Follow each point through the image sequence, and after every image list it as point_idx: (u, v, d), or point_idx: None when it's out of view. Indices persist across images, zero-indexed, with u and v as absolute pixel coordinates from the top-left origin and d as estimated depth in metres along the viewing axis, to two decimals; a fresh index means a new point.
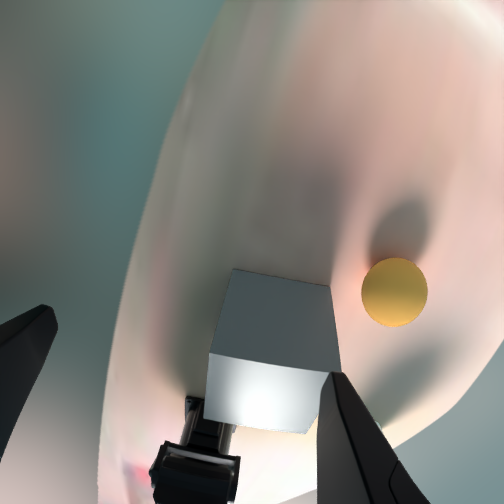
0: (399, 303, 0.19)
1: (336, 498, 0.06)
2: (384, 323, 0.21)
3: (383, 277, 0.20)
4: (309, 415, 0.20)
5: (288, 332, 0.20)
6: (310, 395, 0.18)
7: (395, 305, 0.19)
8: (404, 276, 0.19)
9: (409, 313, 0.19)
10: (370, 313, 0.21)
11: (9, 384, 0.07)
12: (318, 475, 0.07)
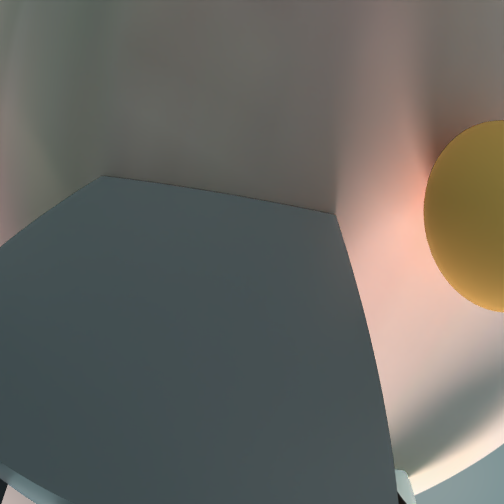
0: None
1: None
2: (502, 301, 0.05)
3: (497, 146, 0.05)
4: None
5: (164, 331, 0.05)
6: None
7: None
8: None
9: None
10: (461, 274, 0.06)
11: None
12: None
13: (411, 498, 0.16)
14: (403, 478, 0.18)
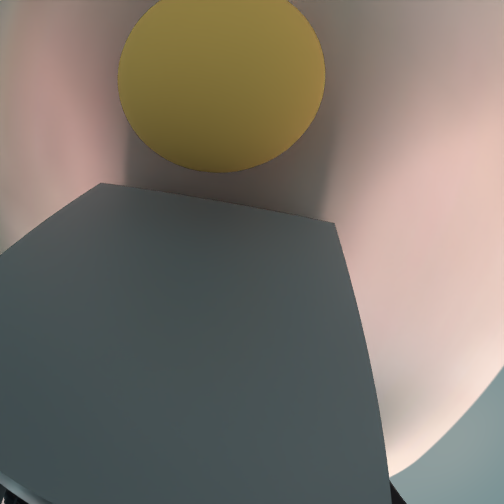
0: None
1: None
2: None
3: None
4: None
5: (162, 344, 0.05)
6: None
7: None
8: None
9: None
10: None
11: None
12: None
13: None
14: None
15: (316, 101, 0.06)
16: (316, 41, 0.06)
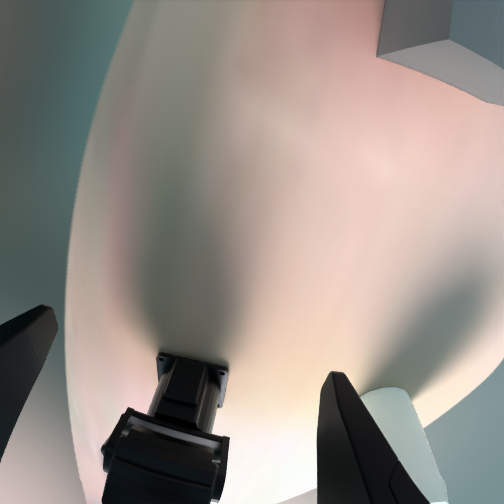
0: None
1: (336, 498, 0.06)
2: None
3: None
4: None
5: None
6: None
7: None
8: None
9: None
10: None
11: (9, 384, 0.07)
12: (318, 475, 0.07)
13: (414, 412, 0.24)
14: (406, 395, 0.26)
15: None
16: None
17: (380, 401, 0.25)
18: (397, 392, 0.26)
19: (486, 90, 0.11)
